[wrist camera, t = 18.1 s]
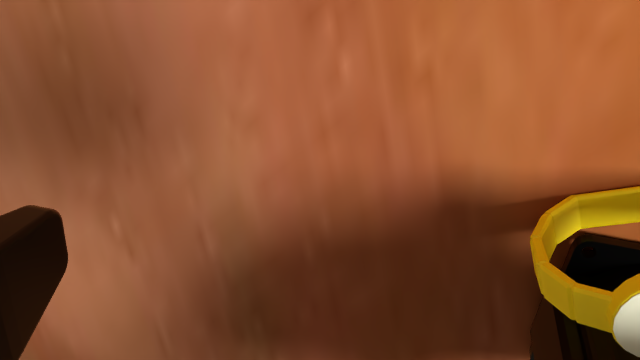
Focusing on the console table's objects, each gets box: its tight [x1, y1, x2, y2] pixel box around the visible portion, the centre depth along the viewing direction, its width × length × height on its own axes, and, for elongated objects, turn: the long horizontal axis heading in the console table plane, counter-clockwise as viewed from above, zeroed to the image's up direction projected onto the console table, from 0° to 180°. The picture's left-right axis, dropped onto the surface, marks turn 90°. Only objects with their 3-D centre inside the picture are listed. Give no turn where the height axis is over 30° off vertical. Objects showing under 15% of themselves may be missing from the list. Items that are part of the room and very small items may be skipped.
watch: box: [530, 186, 640, 357], centre depth 19 cm, size 6×3×6 cm, turn 107°
